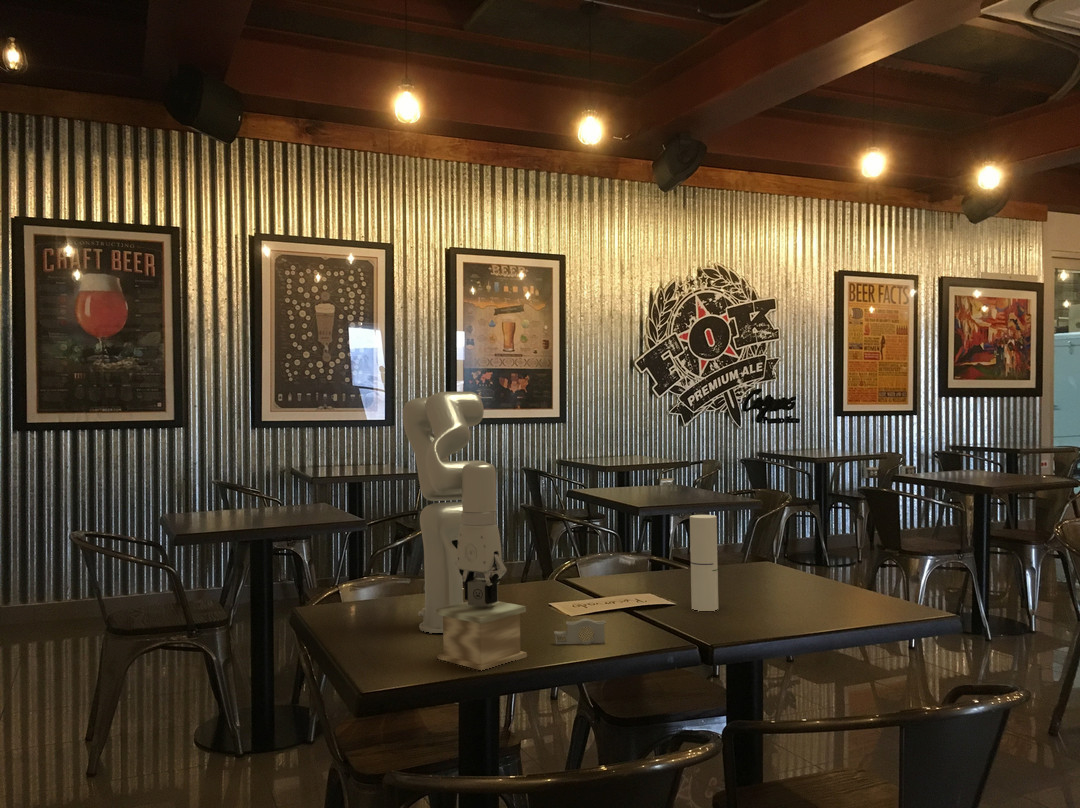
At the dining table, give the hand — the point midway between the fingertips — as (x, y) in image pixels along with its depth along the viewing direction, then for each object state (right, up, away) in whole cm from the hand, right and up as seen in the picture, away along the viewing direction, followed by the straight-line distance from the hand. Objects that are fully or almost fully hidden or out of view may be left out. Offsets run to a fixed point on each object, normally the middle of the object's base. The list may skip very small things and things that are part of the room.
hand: (480, 600), depth 198 cm
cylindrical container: (+58, -12, +44) cm, 73 cm away
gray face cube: (0, -1, 0) cm, 1 cm away
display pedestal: (0, -13, 0) cm, 13 cm away
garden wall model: (+22, -13, +11) cm, 28 cm away
